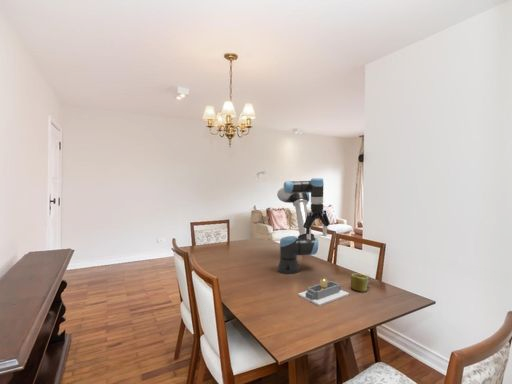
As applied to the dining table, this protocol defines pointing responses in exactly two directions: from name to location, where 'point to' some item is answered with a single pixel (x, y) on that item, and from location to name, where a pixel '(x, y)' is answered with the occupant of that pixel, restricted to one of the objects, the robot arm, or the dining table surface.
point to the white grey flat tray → (323, 293)
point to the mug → (359, 282)
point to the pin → (323, 283)
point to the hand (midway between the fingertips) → (316, 237)
